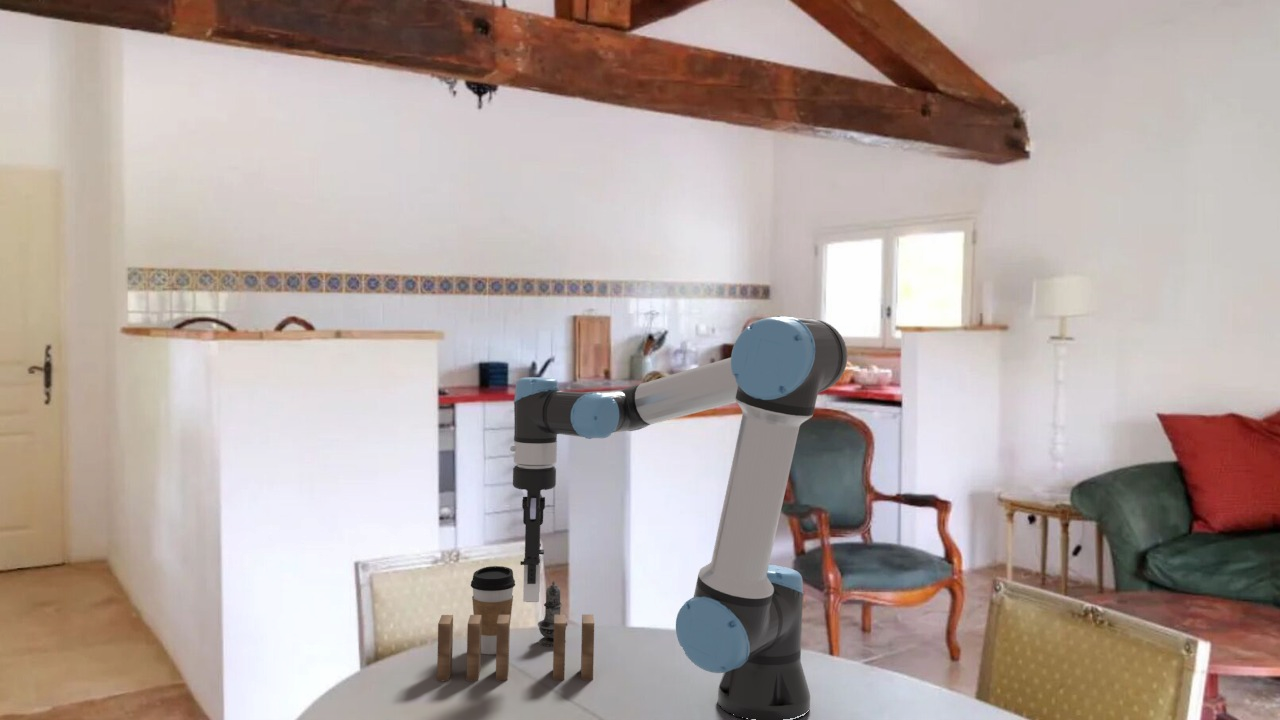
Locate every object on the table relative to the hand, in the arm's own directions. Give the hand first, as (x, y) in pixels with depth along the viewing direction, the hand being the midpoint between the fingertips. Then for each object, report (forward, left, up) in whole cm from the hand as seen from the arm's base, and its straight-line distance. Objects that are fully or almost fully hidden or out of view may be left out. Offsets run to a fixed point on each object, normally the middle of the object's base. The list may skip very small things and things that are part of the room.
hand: (531, 596), depth 166 cm
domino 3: (+4, +3, -14) cm, 15 cm away
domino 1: (+12, +9, -14) cm, 20 cm away
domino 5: (-8, -6, -14) cm, 17 cm away
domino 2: (+8, +6, -14) cm, 17 cm away
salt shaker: (+7, -17, -14) cm, 23 cm away
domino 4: (-4, -3, -14) cm, 15 cm away
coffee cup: (+14, -7, -14) cm, 21 cm away
